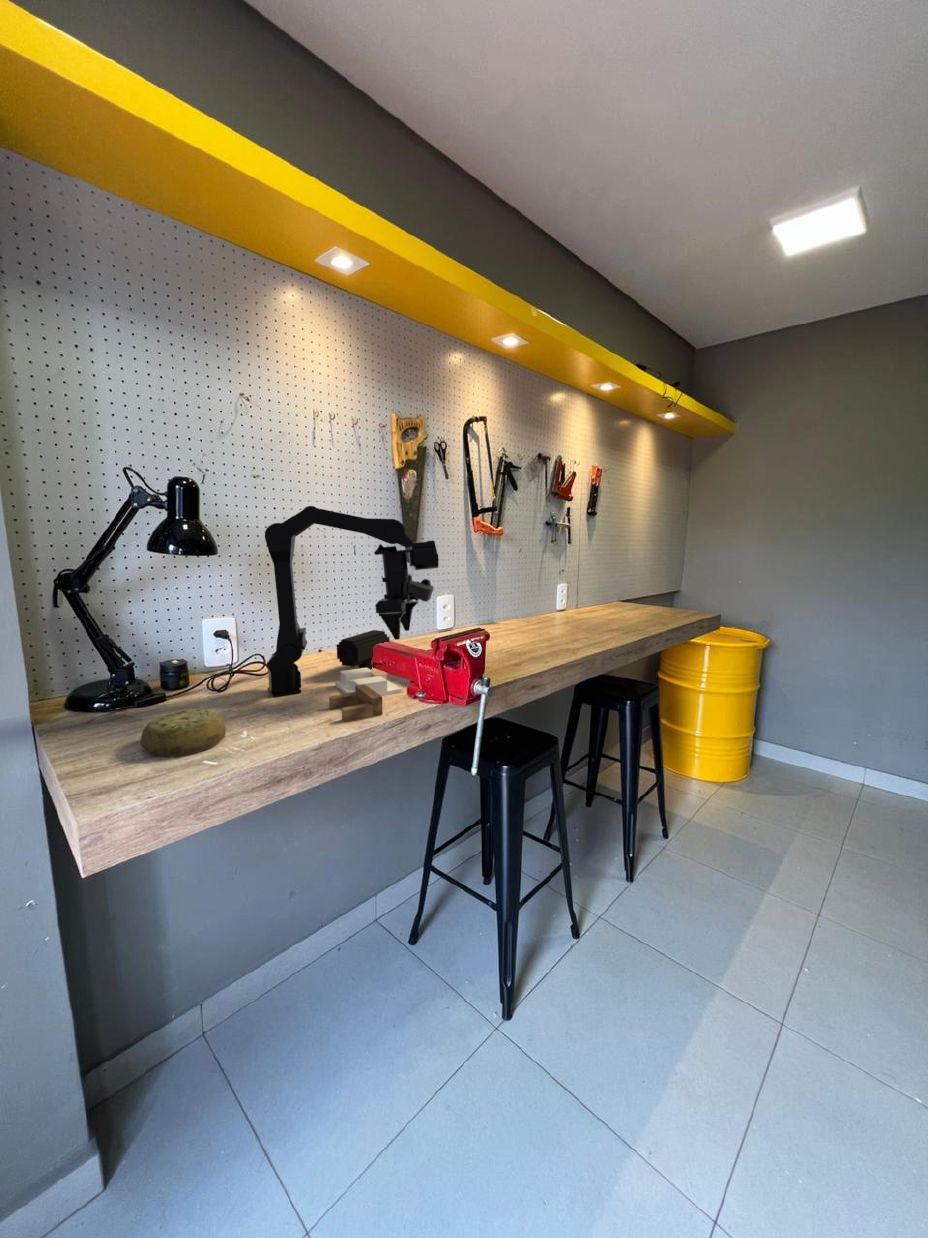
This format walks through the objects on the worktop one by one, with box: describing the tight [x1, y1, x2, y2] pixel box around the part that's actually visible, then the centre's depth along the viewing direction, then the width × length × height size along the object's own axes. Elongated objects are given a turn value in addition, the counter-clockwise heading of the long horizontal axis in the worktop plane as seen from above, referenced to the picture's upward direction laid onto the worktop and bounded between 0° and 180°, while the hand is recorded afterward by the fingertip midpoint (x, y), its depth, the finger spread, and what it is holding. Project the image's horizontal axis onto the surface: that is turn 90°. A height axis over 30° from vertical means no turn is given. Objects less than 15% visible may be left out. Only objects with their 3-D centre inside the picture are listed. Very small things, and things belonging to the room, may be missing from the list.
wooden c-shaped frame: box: [334, 668, 402, 697], centre depth 121 cm, size 12×13×4 cm
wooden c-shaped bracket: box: [328, 684, 383, 723], centre depth 106 cm, size 8×10×4 cm
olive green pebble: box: [140, 708, 226, 757], centre depth 90 cm, size 14×13×5 cm
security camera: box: [336, 629, 390, 670], centre depth 137 cm, size 7×18×10 cm, turn 155°
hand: (402, 634), depth 122 cm, fingers open, 9 cm apart
